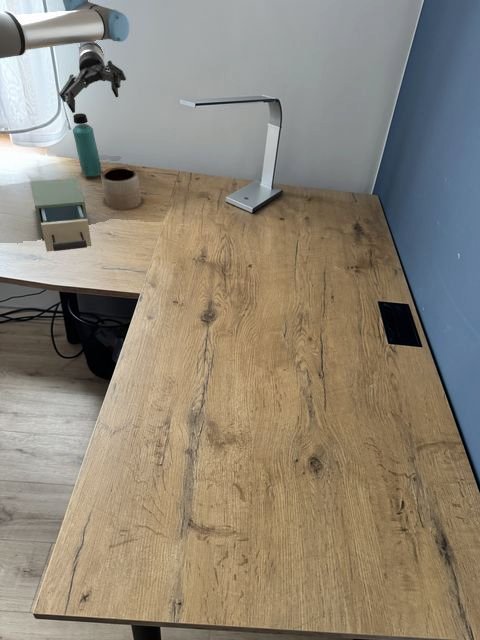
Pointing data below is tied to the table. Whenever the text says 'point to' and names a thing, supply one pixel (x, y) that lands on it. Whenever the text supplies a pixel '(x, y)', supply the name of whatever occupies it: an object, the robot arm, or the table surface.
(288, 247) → the table surface
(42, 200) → the green drawer cabinet
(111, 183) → the planter
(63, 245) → the drawer
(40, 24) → the robot arm
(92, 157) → the beverage bottle
